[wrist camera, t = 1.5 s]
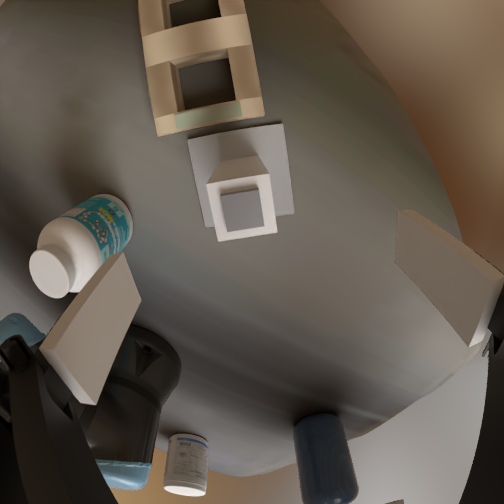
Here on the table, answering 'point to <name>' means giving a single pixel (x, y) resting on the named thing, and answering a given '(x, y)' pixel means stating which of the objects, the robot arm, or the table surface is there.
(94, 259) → the pill bottle
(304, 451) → the lamp
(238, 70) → the socket block
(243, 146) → the mat
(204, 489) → the supplement tub
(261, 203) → the plug
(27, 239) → the table surface
